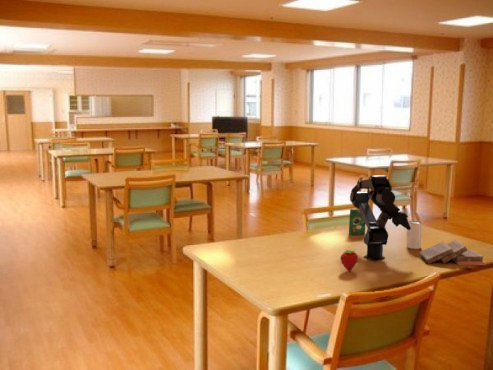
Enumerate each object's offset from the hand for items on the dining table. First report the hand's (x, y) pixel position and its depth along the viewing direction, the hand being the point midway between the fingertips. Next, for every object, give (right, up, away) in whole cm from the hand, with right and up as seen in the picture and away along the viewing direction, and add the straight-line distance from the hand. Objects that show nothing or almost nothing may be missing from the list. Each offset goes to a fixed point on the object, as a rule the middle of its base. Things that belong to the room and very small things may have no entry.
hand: (409, 229), depth 209 cm
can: (+9, -11, +21) cm, 25 cm away
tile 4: (+19, -13, +1) cm, 23 cm away
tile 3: (+18, -11, +2) cm, 21 cm away
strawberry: (-28, -16, -11) cm, 34 cm away
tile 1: (+7, -12, +2) cm, 14 cm away
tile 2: (+13, -12, +2) cm, 18 cm away
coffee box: (-12, -7, +46) cm, 48 cm away
